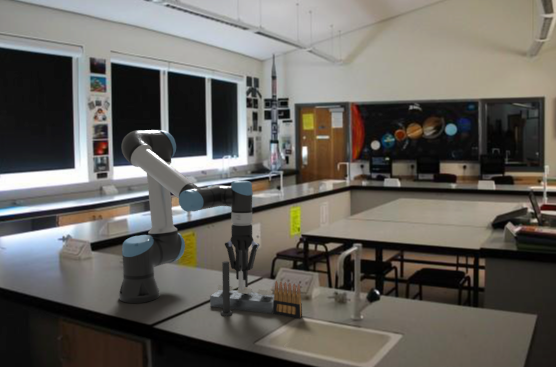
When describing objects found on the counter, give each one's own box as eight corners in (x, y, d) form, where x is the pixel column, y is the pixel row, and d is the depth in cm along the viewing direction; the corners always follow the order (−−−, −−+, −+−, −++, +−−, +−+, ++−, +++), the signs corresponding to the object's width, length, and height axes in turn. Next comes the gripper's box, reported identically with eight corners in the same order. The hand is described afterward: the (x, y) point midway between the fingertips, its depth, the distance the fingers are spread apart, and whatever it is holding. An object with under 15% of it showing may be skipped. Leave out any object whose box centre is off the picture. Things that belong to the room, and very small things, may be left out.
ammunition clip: (302, 317, 188) (302, 283, 187) (300, 318, 186) (300, 285, 185) (275, 312, 193) (275, 279, 192) (272, 313, 191) (272, 280, 190)
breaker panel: (210, 306, 199) (210, 295, 199) (220, 299, 208) (220, 288, 207) (271, 313, 191) (271, 302, 191) (279, 305, 200) (279, 295, 199)
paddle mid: (237, 292, 197) (238, 287, 197) (242, 291, 202) (243, 286, 202) (246, 293, 196) (247, 288, 196) (251, 292, 201) (252, 287, 201)
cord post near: (218, 315, 190) (218, 263, 188) (223, 311, 194) (222, 260, 192) (229, 316, 189) (228, 264, 187) (233, 312, 192) (233, 261, 190)
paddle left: (217, 290, 200) (218, 285, 200) (223, 290, 204) (223, 285, 205) (226, 290, 198) (227, 286, 199) (231, 291, 203) (232, 286, 203)
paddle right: (258, 294, 194) (258, 289, 195) (262, 294, 199) (263, 289, 199) (267, 295, 193) (267, 290, 194) (271, 295, 198) (272, 290, 198)
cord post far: (238, 300, 206) (237, 252, 204) (242, 297, 209) (241, 250, 207) (247, 301, 205) (246, 253, 203) (250, 298, 208) (250, 250, 206)
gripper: (220, 224, 193) (221, 289, 194) (255, 226, 188) (255, 292, 190) (229, 221, 200) (229, 284, 201) (262, 223, 196) (262, 287, 197)
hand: (242, 288), depth 196 cm, fingers closed
